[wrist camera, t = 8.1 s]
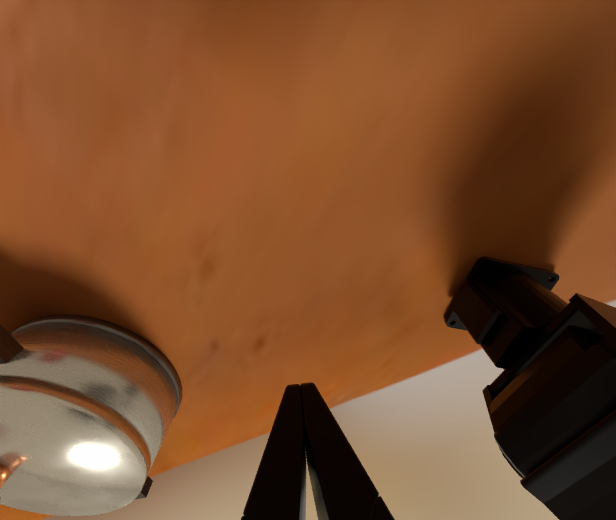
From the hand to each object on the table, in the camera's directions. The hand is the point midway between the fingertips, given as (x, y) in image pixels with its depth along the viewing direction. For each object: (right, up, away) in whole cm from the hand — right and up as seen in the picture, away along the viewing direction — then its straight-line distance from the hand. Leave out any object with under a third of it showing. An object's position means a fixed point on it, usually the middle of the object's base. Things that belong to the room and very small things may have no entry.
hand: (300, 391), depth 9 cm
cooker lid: (-22, -11, +14) cm, 29 cm away
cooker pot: (-20, -8, +19) cm, 29 cm away
